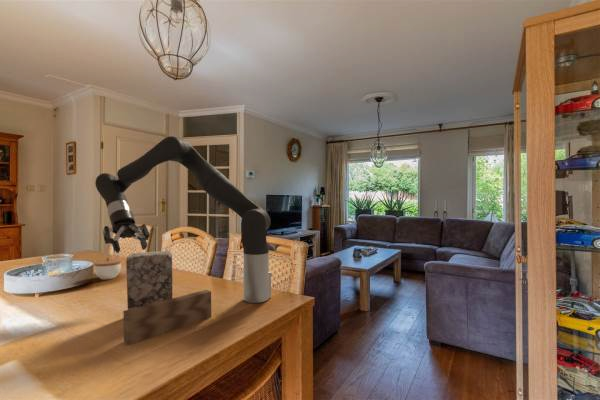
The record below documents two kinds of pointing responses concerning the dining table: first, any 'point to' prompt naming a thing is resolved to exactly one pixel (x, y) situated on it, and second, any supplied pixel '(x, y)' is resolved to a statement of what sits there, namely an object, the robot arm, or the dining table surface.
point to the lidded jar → (107, 268)
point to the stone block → (148, 278)
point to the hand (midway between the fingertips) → (132, 249)
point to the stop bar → (165, 316)
